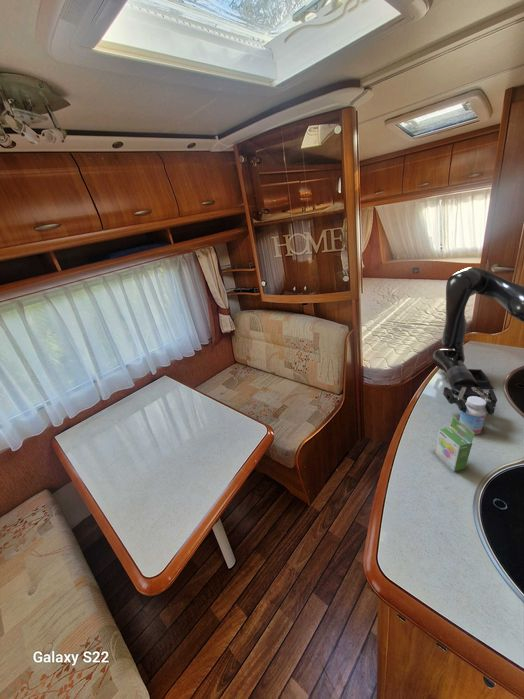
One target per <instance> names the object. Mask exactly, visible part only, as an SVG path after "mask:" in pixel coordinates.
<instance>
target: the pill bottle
mask: <svg viewBox="0 0 524 699" xmlns="http://www.w3.org/2000/svg"><path fill="white" fill-rule="evenodd" d="M464 403H465V405H466V407H467V410H466V413H463V412H462V411H460V415H459V419H458V421H460V422H461V423H462V424H464V425H465V426H466V427H468V428H469V429H470V430H472V431H473V432H474V433H475V435H478V434H480V433H482V432H483V427H484V424H485V421H486V417H487V414H488V413H487V410H486V408H485V406H486V401H485V400H484V399H482V398H480V397H476V396H470V397H468V398H467V400H466V402H464ZM457 426H458V427H459V428H460V429H462V430H463V431H464V432H465V433H467V434H468V432H467V431H466V430H465V429H464V428H463V427H462V426H460V425H458V424H457Z"/></svg>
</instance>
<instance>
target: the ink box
mask: <svg viewBox="0 0 524 699" xmlns="http://www.w3.org/2000/svg"><path fill="white" fill-rule="evenodd" d="M458 425H460V426H462V427H463V428H464V429H465V430H466V431H467V432H468V433H467V432H465V431H463V430H462V429H460V428H459V426H458ZM475 435H476V434H475V433H474V432H473V431H472V430H470V429H469V428H468V427H466V426H465V425H464V424H462V423H461V422H460V421H459V419H457V418H456V417H455V416H452V420H451V424H450V426H446V427H444V428H443V427H442V428H440V429H439V430H438V434H437V440H436V441H437V442H436V448H435V455H436V456H437V457H438V458H439V459H440V460H441V461H442V462H443V463H444V464H445V465H446V466H447V467H448V468H449V469H450V470H451V471H452V472H453V473H454V472H457V471H461V470H465V469H466V468H467V464H468V461H469V456H470V453H471V449H472V446H473V440H474V437H475Z"/></svg>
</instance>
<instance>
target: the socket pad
mask: <svg viewBox="0 0 524 699" xmlns="http://www.w3.org/2000/svg"><path fill="white" fill-rule="evenodd" d="M467 369H468V370H469V371H470V372H471V374H472V375H473V377H474V379H475V380H476V382H477V383H478V386H479V388H480V389H482V390H494V387H493V386H492V384H491V381H490V379H489V378H488V377H487V376H486V374H485V372H484V371H483V370H482V369H479V368H477V369H476V368H475V369H474V368H467Z"/></svg>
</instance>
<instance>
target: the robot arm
mask: <svg viewBox="0 0 524 699" xmlns="http://www.w3.org/2000/svg"><path fill="white" fill-rule="evenodd" d="M475 294H476V295H480V296H483V297H486V298H488V299H491V300H493V301H495V302H496V303H498V304H499V305H500V306H501V307H502V308H503V309H504V310H505V311H506V312H507V313H508V314H509V315H510V316H511V317H513V318H514V319H516V320H518V321H520V322H522V323H524V285H522V284H519V283H516V282H513V281H510V280H508V279H506V278H504V277H501V276H499V275H497V274H495V273H493V272H492V271H491V272H490V271H488V270H487V269H484V268H482V267H477V266H469V267H466V268H464V269H461V270H460V271H457V272H455V273H454V274H451V276H449V278H448V279H447V281H446V285H445V321H444V327H443V332H442V337H441V344H442V346H443V347H445V348H439V349H437V350H435V351H434V352H433V354H432V361H433V363H434V364H435V366H436V367H437V368H438V369H439V370H441V372H443V373H444V374H445V377H446V380H447V384H448V385H449V386H450V388H449V387H447V386H444V388H443V392H442V395H443V396H444V397H445V399H446V400H447V402H448V403H449V404H450V405H454V404H455V405H456V406H457V408H458V410H459V411H460V412H461V411H462V412H463V413H466V410H467V407H466V405H465V403H466V402H465V401H467V398H468V397H470V396H476V397H480V398H482V399H484V400H485V401H486V406H485V408H486V410H487V414H488V415H489V416H493V415H494V413H495V410H496V408H495V407H497V403H498V398H497V396H496V393H495V391H494V389H488V391H487V390H484V389H480V388H479V386H478V383H477V382H476V380H475V379H474V377H473V375H472V374H471V372H470V371H469V370H468V369H469V368H468V367H467V366H466V364H465V361H466V356H465V350H464V342H465V339H466V335H467V331H468V330H467V329H468V322H467V319H466V314H465V313H466V312H465V311H466V308H467V307H466V306H467V304H468V302H469V300H470V297H472V296H473V295H475Z"/></svg>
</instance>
